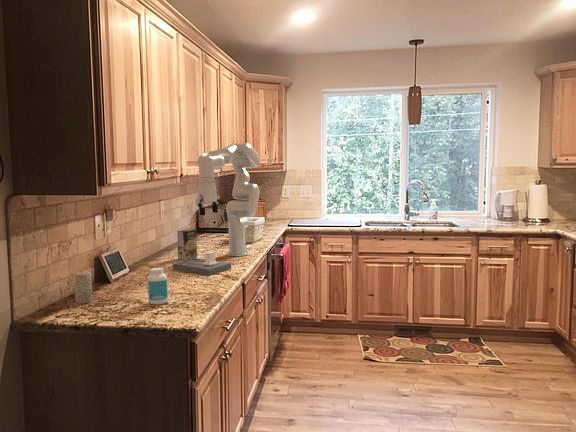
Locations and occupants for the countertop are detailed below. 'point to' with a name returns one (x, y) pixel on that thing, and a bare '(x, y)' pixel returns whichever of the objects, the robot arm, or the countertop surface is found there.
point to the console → (201, 266)
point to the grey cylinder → (83, 287)
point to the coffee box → (187, 244)
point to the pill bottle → (157, 287)
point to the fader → (210, 258)
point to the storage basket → (253, 228)
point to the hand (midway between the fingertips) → (208, 213)
